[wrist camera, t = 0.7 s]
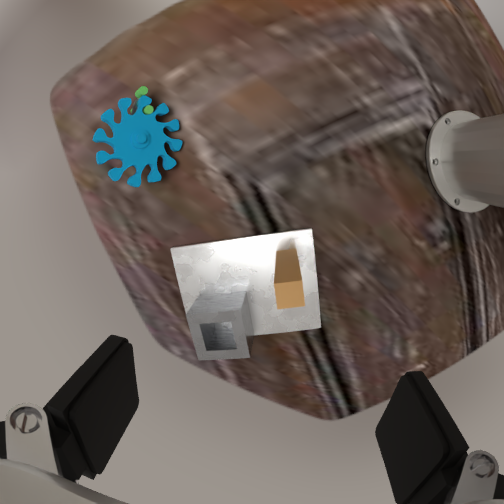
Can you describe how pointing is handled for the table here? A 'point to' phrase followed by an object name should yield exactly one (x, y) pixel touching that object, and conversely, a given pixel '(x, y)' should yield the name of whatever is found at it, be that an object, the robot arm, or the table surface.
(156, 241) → the table surface
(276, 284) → the tan square peg
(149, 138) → the blue spiky virus toy
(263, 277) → the grey square socket base
